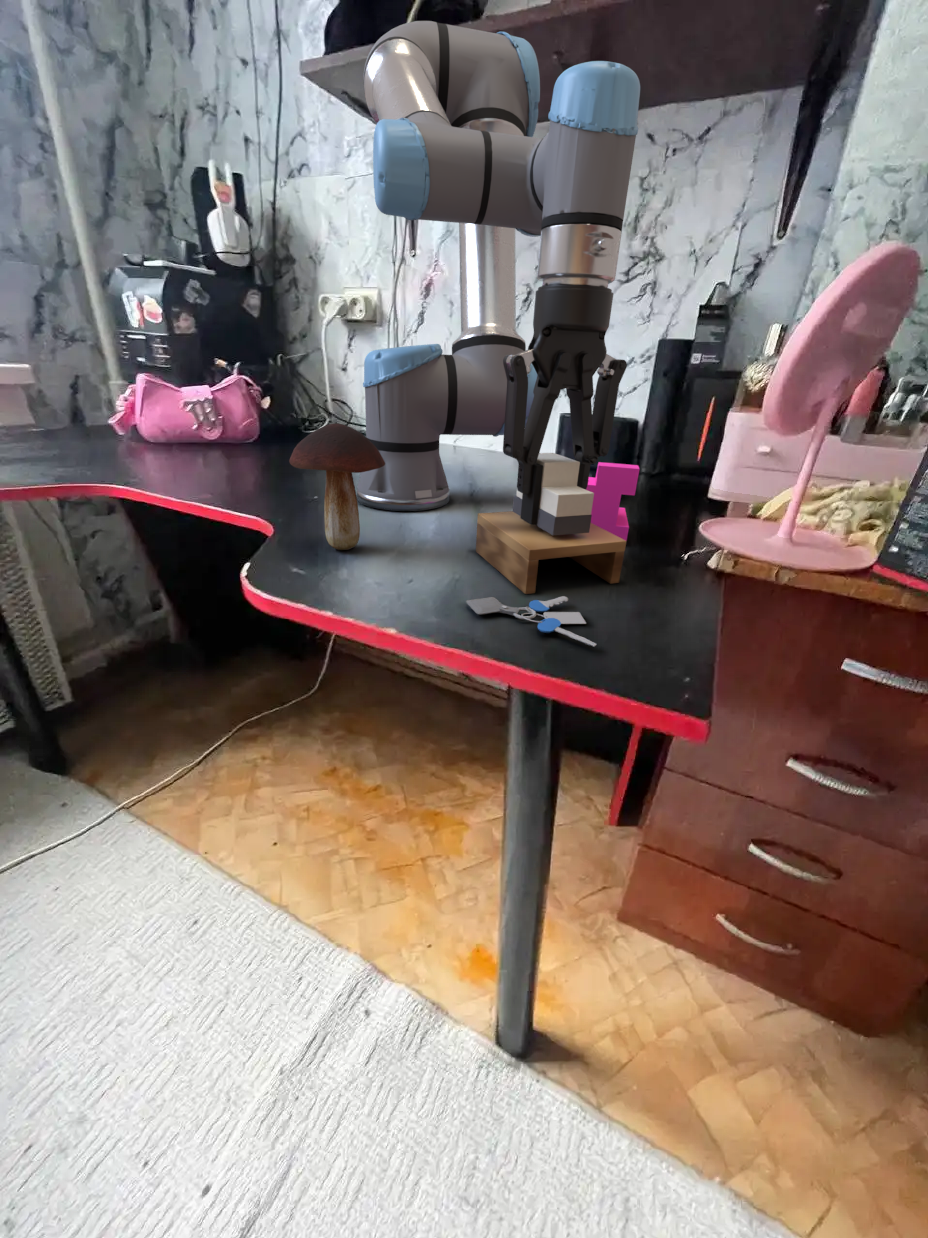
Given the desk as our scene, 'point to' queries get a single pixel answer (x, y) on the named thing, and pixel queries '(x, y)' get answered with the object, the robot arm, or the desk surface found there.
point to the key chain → (545, 625)
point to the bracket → (612, 496)
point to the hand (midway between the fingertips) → (548, 519)
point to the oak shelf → (544, 548)
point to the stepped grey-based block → (560, 497)
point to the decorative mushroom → (338, 476)
